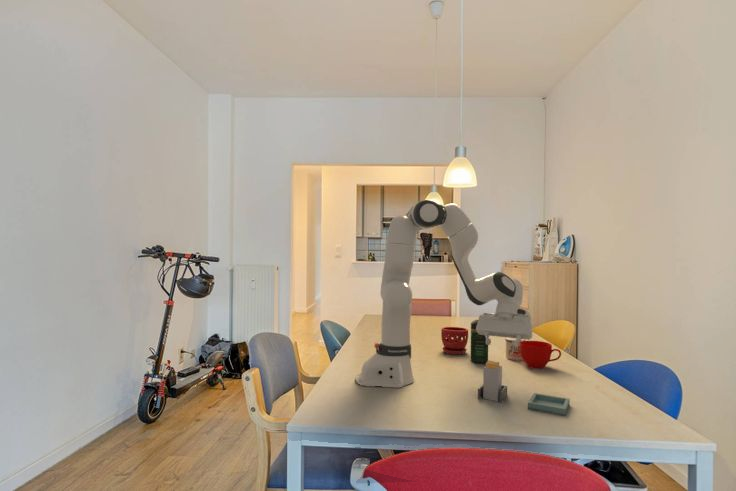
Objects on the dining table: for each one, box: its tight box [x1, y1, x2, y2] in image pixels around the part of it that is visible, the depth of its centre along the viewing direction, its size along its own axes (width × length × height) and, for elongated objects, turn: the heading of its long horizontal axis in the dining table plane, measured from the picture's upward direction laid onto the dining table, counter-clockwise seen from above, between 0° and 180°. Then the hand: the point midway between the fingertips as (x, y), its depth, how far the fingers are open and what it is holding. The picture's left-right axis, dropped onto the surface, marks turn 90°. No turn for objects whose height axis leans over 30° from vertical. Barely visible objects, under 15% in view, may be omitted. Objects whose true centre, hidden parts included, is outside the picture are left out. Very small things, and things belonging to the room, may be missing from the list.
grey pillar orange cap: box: [482, 360, 503, 402], centre depth 150 cm, size 5×5×12 cm
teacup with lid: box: [504, 337, 527, 361], centre depth 205 cm, size 12×9×12 cm
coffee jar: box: [470, 319, 489, 364], centre depth 200 cm, size 10×8×19 cm
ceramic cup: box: [520, 340, 562, 369], centre depth 189 cm, size 13×17×10 cm
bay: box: [477, 383, 508, 404], centre depth 150 cm, size 8×8×4 cm
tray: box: [527, 392, 570, 417], centre depth 141 cm, size 11×11×2 cm
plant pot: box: [440, 326, 469, 356], centre depth 216 cm, size 13×13×12 cm
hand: (500, 345), depth 160 cm, fingers open, 8 cm apart
